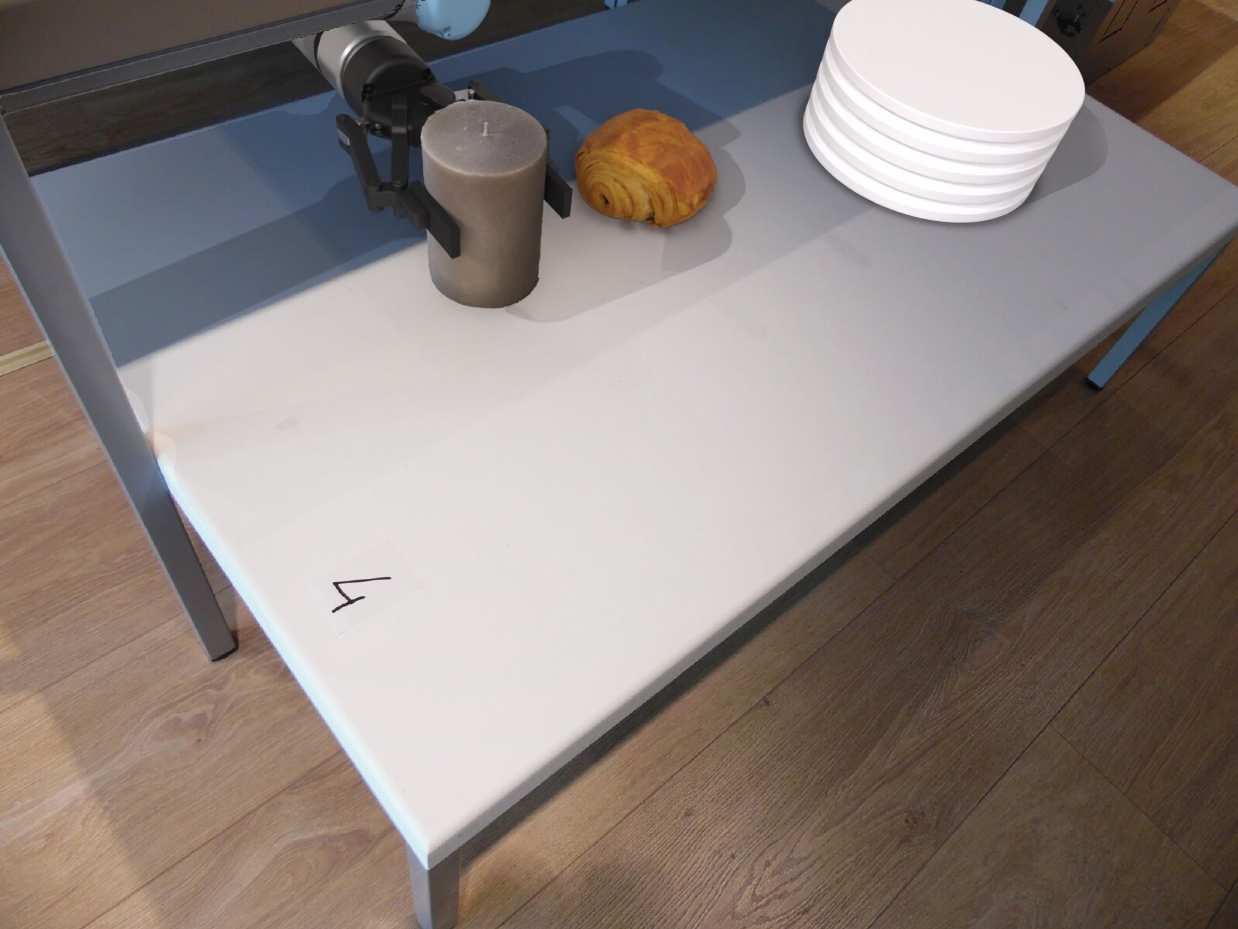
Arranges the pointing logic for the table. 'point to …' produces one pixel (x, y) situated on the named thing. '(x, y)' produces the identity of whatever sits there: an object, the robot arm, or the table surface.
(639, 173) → the croissant
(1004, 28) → the plate stack
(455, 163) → the pillar candle
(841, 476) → the table surface
